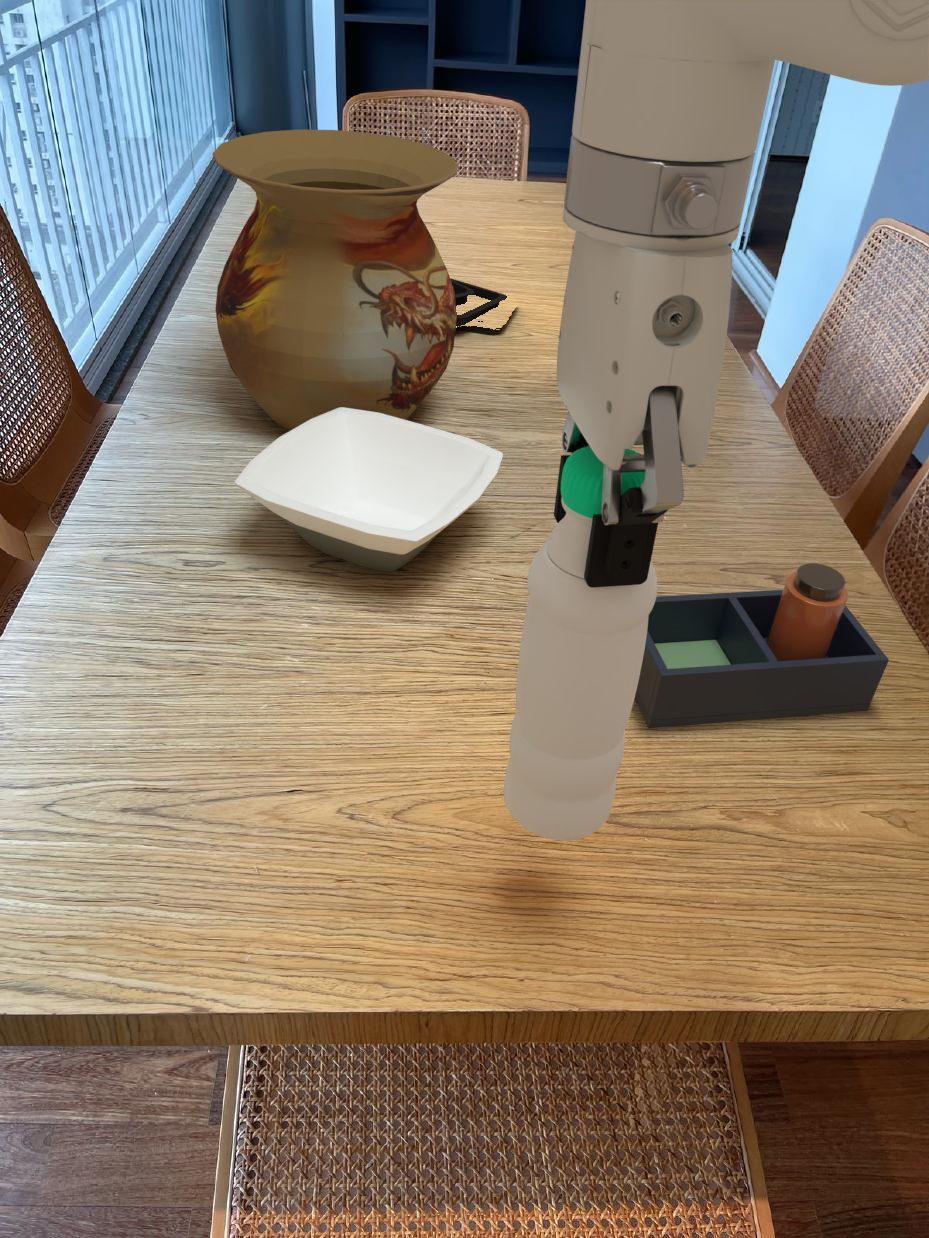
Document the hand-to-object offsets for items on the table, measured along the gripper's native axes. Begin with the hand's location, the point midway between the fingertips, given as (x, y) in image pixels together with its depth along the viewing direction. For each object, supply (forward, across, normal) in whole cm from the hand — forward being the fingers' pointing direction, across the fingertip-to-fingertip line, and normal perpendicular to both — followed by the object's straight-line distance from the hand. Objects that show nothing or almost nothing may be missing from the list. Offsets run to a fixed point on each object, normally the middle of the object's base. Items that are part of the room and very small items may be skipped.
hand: (598, 547), depth 53 cm
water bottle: (+20, 0, 0) cm, 20 cm away
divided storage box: (+29, +20, -23) cm, 42 cm away
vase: (+28, +77, +8) cm, 83 cm away
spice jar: (+28, +20, -28) cm, 45 cm away
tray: (+28, +110, -8) cm, 113 cm away
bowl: (+29, +46, +7) cm, 55 cm away
